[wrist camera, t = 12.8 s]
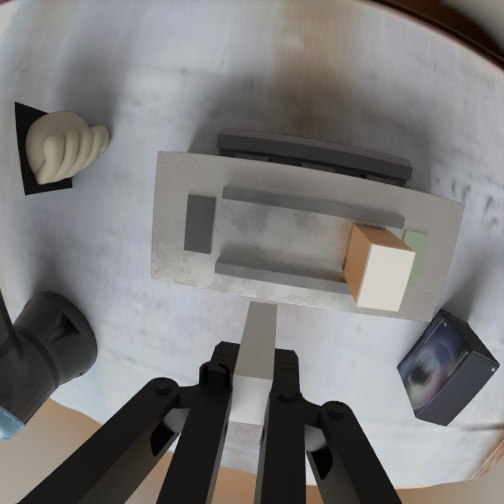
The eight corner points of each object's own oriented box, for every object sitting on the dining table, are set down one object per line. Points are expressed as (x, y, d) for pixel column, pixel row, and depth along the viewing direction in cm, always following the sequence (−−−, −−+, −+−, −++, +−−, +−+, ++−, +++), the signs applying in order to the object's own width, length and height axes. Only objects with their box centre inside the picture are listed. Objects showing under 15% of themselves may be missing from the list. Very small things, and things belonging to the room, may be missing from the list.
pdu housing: (178, 253, 37) (145, 283, 28) (187, 148, 33) (151, 146, 24) (406, 290, 35) (435, 328, 26) (431, 190, 31) (472, 202, 22)
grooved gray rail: (221, 154, 33) (216, 154, 30) (225, 128, 32) (219, 126, 30) (400, 185, 31) (408, 187, 29) (404, 160, 30) (413, 160, 28)
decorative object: (110, 101, 34) (122, 173, 37) (45, 124, 33) (55, 193, 36) (76, 74, 22) (88, 173, 25) (-5, 111, 21) (5, 203, 24)
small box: (438, 305, 35) (474, 349, 25) (467, 322, 35) (503, 364, 25) (393, 367, 38) (413, 419, 28) (424, 379, 38) (447, 428, 28)
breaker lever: (343, 272, 26) (356, 306, 20) (353, 223, 25) (372, 244, 19) (376, 278, 26) (398, 311, 20) (388, 230, 25) (415, 252, 19)
